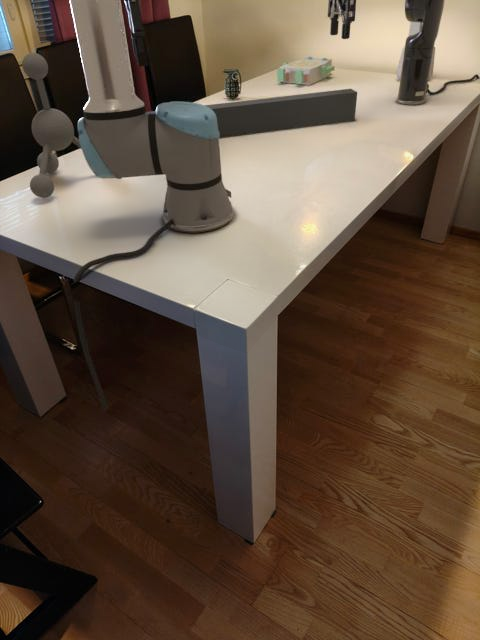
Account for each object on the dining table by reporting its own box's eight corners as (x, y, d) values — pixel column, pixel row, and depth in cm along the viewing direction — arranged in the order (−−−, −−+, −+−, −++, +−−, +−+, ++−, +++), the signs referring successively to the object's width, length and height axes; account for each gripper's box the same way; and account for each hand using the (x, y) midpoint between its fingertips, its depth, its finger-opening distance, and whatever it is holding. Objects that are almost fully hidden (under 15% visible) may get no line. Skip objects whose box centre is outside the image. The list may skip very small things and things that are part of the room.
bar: (137, 148, 147) (131, 118, 141) (136, 143, 150) (130, 113, 145) (354, 120, 158) (357, 92, 153) (348, 116, 162) (350, 88, 156)
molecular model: (125, 187, 123) (98, 53, 104) (35, 204, 117) (-11, 66, 98) (110, 158, 140) (84, 39, 122) (30, 172, 134) (-9, 49, 116)
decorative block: (300, 55, 216) (341, 58, 206) (299, 71, 220) (340, 74, 210) (268, 66, 200) (311, 70, 190) (268, 83, 204) (310, 87, 194)
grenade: (223, 100, 185) (221, 71, 179) (226, 96, 190) (225, 68, 184) (239, 100, 184) (238, 71, 178) (243, 96, 188) (242, 68, 182)
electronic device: (404, 83, 193) (417, -8, 174) (394, 79, 199) (406, -9, 180) (432, 79, 195) (448, -11, 177) (422, 76, 201) (436, -12, 182)
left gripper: (146, -33, 114) (159, 68, 127) (138, -35, 133) (150, 52, 146) (113, -30, 112) (130, 71, 125) (110, -33, 132) (125, 55, 145)
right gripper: (368, -31, 129) (361, 39, 139) (346, -33, 140) (341, 32, 150) (341, -29, 128) (336, 41, 138) (321, -31, 139) (318, 34, 149)
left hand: (141, 61), depth 136 cm, fingers open, 13 cm apart
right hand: (339, 36), depth 144 cm, fingers open, 8 cm apart
